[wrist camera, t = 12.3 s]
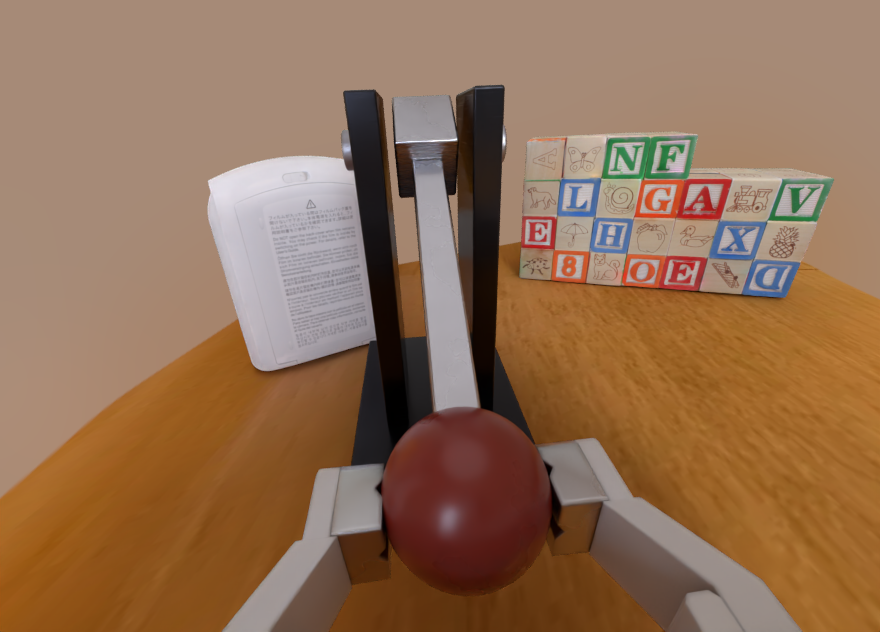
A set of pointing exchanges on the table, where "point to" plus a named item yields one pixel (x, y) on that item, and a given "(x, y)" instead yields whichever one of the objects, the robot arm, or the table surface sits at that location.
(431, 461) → the lever
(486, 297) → the bracket
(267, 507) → the table surface
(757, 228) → the stack of blocks
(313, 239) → the photo printer
